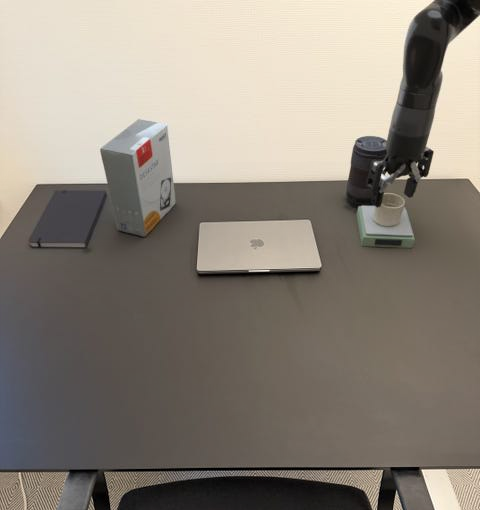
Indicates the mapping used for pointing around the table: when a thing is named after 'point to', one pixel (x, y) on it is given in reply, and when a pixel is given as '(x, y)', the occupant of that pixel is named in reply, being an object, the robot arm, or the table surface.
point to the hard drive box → (139, 176)
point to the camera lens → (363, 169)
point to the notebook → (68, 219)
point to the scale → (384, 230)
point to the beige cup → (389, 210)
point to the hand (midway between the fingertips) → (392, 200)
